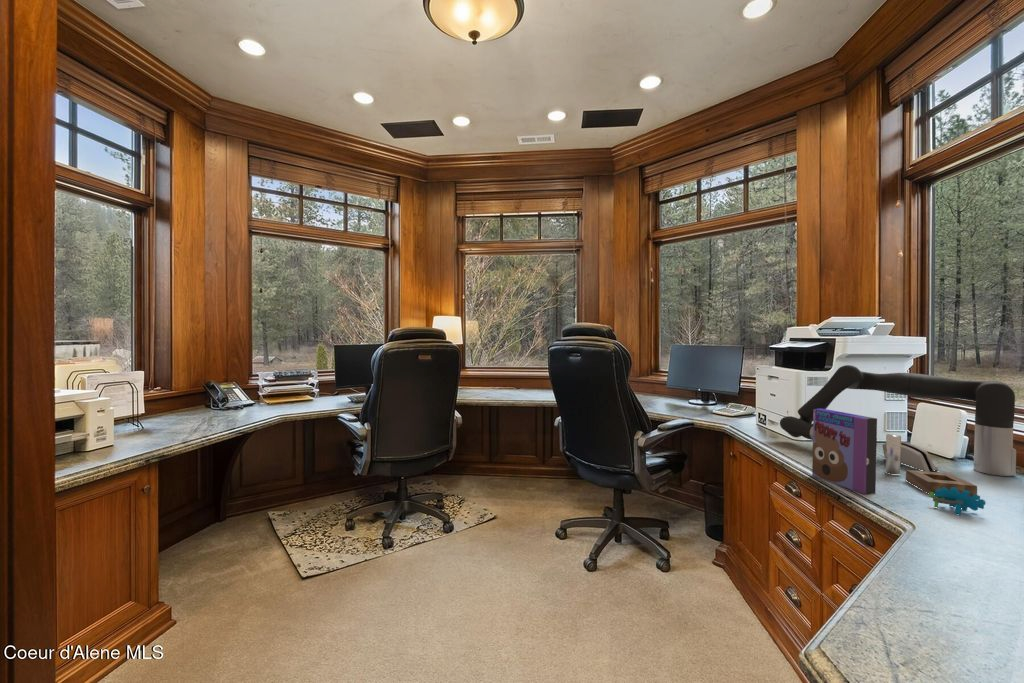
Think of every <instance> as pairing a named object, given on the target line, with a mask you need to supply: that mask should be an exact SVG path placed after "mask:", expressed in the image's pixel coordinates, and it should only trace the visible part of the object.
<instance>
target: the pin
mask: <svg viewBox="0 0 1024 683" xmlns="http://www.w3.org/2000/svg"><path fill="white" fill-rule="evenodd" d="M885 436H886V437H885V443H886V459H885V471H884V472H887V473H890V474H900V475H901V442H902V436H901V435H898V434H894V433H892V434H891V433H887V434H886V435H885Z"/></svg>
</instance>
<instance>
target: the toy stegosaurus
mask: <svg viewBox="0 0 1024 683" xmlns="http://www.w3.org/2000/svg"><path fill="white" fill-rule="evenodd" d="M969 494H970V491H967V490H963V493H961V492H959V491H958V490H957V488H954V487H952V488H951V490H948V489H947V488H945V487H942V488H941V490H938V489H936V491H935V495H934V493H933V492H930V493H929V494H928V497H929V498H932V502H934V505H933V506H934V507H937V508H938V509H939V504H943V505H948V506H949V507H951V506H953V507H952V508H954V509H955V510H954V514H955V513H956V514H960V515H961V512H962V509H966V510H965V511H967V510H968V509H971V510H972V511H974V512H975V511H978V510H979V509H982V510H984V509H985V505H986V503H987V502H986V501H985V500H984V499H981V496H980V495H979V494H977V495H976V494H973V497H971V496H969ZM934 507H933V508H934ZM961 508H962V509H961ZM956 514H955V515H956Z"/></svg>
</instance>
